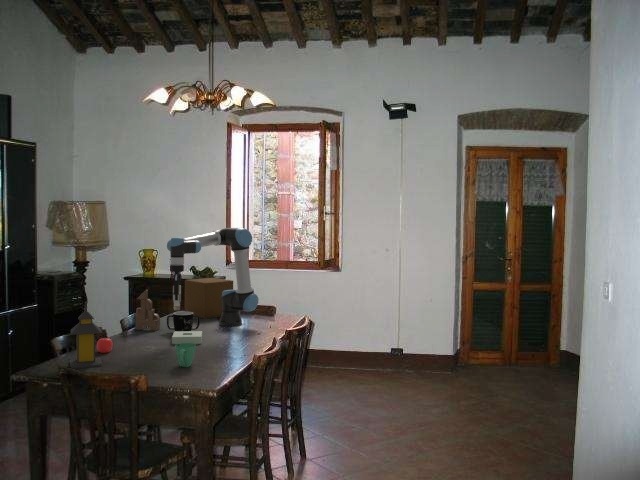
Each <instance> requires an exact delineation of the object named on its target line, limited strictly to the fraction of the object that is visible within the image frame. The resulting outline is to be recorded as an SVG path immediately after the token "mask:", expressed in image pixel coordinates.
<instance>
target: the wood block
mask: <svg viewBox="0 0 640 480" xmlns="http://www.w3.org/2000/svg"><path fill="white" fill-rule="evenodd" d="M225 290H234V280H232V279H224V278H216V277H207V278H205V277H204V278H194V279H185V280H184V312H193V315H196V316H199V318H201V319H205V320H206V319H213V318H220V317H221V314H222V292H223V291H225Z"/></svg>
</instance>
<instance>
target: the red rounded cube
mask: <svg viewBox="0 0 640 480" xmlns="http://www.w3.org/2000/svg"><path fill="white" fill-rule="evenodd" d="M113 345H114V343H113V341H112V339H111V338H108V337H106V336H104V338H103V337H102V338H100V339H98V340H97V341H96V349H97V351H98V352H99V353H100V354H105V353H106V354H107V353H110V351H112V349H113Z"/></svg>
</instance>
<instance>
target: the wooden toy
mask: <svg viewBox="0 0 640 480" xmlns="http://www.w3.org/2000/svg"><path fill="white" fill-rule="evenodd" d="M148 294H149V289H145V290H144V291H143V292H142V293H141V294H140V295H139V296H138V297H136V299H137V300H140V307H137V308H136V310H135V311H136V315H135V326H134V328H135V330H136V331H142V330H143V329H144V327H146V326H147V327H149V329H150V331H153V332H154V331H158V330H160V329H161V318H160V316H159V314H158V313H155V309H154V308H153V301H152V300H151V299H150V298H149V295H148Z"/></svg>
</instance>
